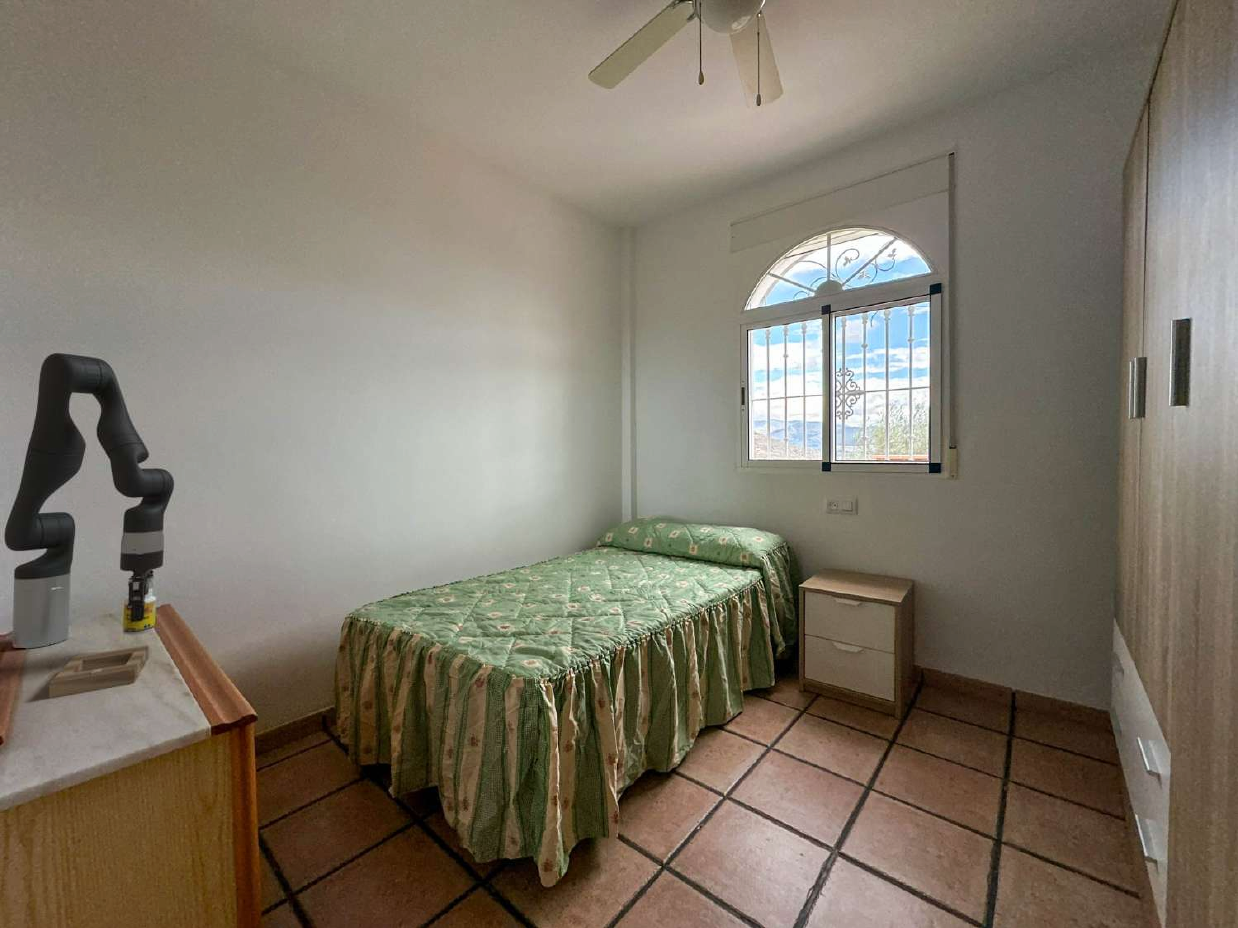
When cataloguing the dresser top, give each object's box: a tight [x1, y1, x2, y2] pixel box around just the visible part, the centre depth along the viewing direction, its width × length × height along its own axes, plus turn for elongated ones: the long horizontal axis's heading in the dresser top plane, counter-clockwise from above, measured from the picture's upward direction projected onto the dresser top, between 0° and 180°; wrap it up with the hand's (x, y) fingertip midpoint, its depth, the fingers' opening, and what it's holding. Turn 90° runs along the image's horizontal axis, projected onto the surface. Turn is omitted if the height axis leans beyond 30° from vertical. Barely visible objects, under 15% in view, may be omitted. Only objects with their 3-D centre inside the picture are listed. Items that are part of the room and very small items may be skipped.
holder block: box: [48, 644, 150, 699], centre depth 104 cm, size 16×12×3 cm
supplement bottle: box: [122, 588, 157, 636], centre depth 117 cm, size 6×6×10 cm
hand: (139, 617), depth 117 cm, fingers closed on supplement bottle, 5 cm apart
